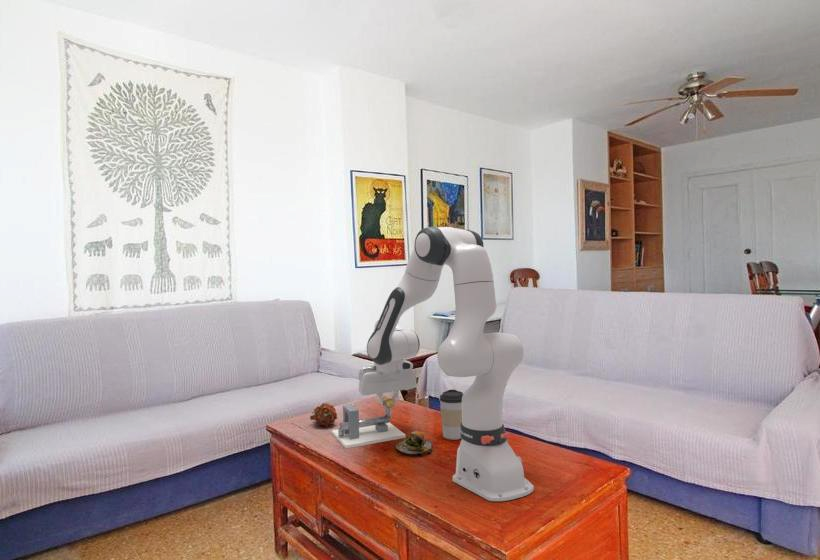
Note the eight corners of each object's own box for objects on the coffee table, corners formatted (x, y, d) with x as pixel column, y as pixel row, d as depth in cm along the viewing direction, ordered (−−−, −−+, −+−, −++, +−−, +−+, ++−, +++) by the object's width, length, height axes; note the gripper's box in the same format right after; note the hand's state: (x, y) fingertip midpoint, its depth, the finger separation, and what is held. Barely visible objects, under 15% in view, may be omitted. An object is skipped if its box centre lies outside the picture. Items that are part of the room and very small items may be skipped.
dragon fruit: (331, 434, 174) (316, 430, 184) (347, 416, 179) (331, 413, 188) (316, 417, 172) (302, 414, 181) (333, 399, 176) (318, 397, 186)
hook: (388, 424, 174) (387, 395, 174) (394, 429, 169) (394, 399, 169) (335, 433, 166) (335, 403, 166) (341, 438, 161) (340, 407, 160)
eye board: (387, 423, 180) (387, 395, 179) (405, 437, 165) (405, 407, 165) (331, 433, 171) (331, 403, 170) (345, 448, 156) (344, 416, 156)
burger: (391, 446, 158) (390, 423, 158) (425, 441, 162) (425, 419, 162) (402, 460, 147) (401, 436, 147) (438, 455, 151) (438, 431, 150)
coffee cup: (468, 440, 161) (467, 395, 161) (440, 440, 162) (439, 395, 161) (465, 431, 170) (464, 388, 170) (439, 431, 171) (438, 388, 170)
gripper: (361, 369, 163) (362, 411, 164) (417, 363, 172) (417, 402, 172) (355, 366, 169) (356, 406, 169) (409, 360, 177) (410, 398, 178)
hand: (387, 404), depth 171 cm, fingers closed on hook, 2 cm apart
